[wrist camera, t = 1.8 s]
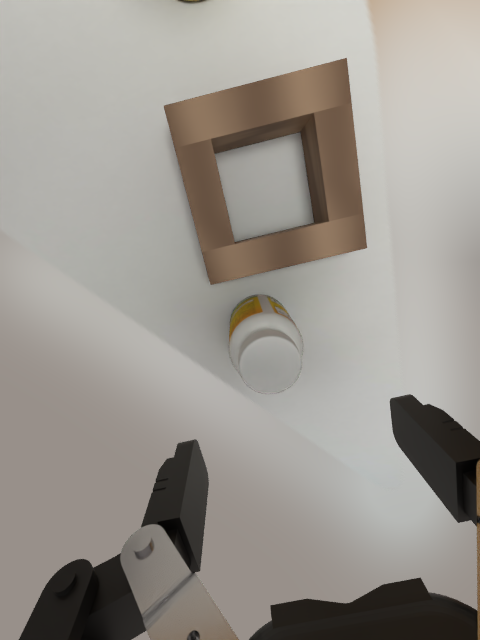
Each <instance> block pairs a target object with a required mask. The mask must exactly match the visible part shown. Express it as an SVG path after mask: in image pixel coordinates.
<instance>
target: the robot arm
mask: <svg viewBox="0 0 480 640" xmlns="http://www.w3.org/2000/svg"><path fill="white" fill-rule="evenodd" d="M390 409H391V418H392V428H393V434H394V437H395V440H396V442H397V444H398V445H399V447H400V448H401V450H402V451H403V452H404V453H405V455H406V456H407V457H408V459H409V460H410V461H411V462H412V464H413V465H414V466H415V468H416V469H417V470H418V472H419V473H420V474H421V475H422V477H423V478H424V479H425V481H426V482H427V483H428V485H429V486H430V487H431V488H432V490H433V491H434V492H435V493H436V495H437V496H438V497H439V499H440V500H441V501H442V502H443V504H444V505H445V507H446V508H447V509H448V510H449V512H450V513H451V514H452V515H453V517H454V518H455V519H456V521H457V522H458V523H459V522H464V521H469V520H472V522H473V523H474V524H475V525H476V526H477V596H478V598H477V603H478V611H477V610H475V609H474V608H472V607H470V606H468V605H466V604H464V603H462V602H460V601H458V600H455V599H453V598H450V597H447V596H443V595H440V594H435V593H429V592H428V591H427V589H426V587H425V585H424V583H423V582H422V580H421V578H416V579H411V580H406V581H400V582H394V583H389V584H384V585H381V586H380V587H378V588H376V589H374V590H372V591H371V592H369V593H367V594H365V595H364V596H362V597H360V598H358V599H356V600H355V601H353V602H351V603H346V604H345V603H336V602H328V601H320V600H312V599H303V600H297V601H293V602H287V603H281V604H276V605H271V616H272V621H270V622H268V623H267V624H265V625H264V626H263V627H262V628H260V629H259V630H258V631H257V632H256V633H255V634H254V635H253V636H252V637H251V638H250V639H249V640H480V441H479V440H478V439H476V438H475V437H474V436H473V435H472V434H470V433H469V432H468V431H467V430H466V429H463V427H462V426H461V425H460V424H459V423H458V422H456V421H454V419H453V418H451V417H450V416H449V415H448V414H447V413H446V412H444V411H443V410H441V409H439V408H437V407H434V406H432V405H430V404H427V405H422V404H421V403H420V402H419V401H418V400H417V399H416V398H415V397H414V396H413V395H405V396H400V397H395V398H391V399H390ZM208 485H209V482H208V473H207V469H206V465H205V462H204V459H203V456H202V453H201V450H200V447H199V444H198V441H197V440H191V441H187V442H182V443H178V445H177V448H176V452H175V456H174V458H169V459H167V460H166V461H165V462H164V464H163V465H162V466H161V468H160V469H159V472H158V475H157V478H156V483H155V484H154V488H153V493H152V494H151V498H150V500H149V503H148V507H147V510H146V513H145V516H144V519H143V523H142V526H141V528H140V529H139V530H137V531H136V532H135V533H133V534H132V535H131V536H130V538H129V539H128V540H127V541H126V543H125V544H124V546H123V548H122V551H121V553H120V554H119V555H117V556H115V557H113V558H112V559H110V560H108V561H106V562H104V563H102V564H100V565H98V566H96V567H94V568H93V567H92V565H91V563H90V562H89V561H88V560H85V559H79V560H75V561H73V562H71V563H69V564H67V565H65V566H64V567H62V568H61V569H60V570H59V571H58V572H57V573H56V574H55V575H54V576H53V577H52V578H51V579H50V580H49V582H48V583H47V585H46V586H45V588H44V590H43V591H42V593H41V596H40V598H39V600H38V602H37V604H36V606H35V608H34V610H33V612H32V614H31V616H30V618H29V620H28V622H27V624H26V626H25V628H24V631H23V632H22V634H21V637H20V639H19V640H131V639H133V638H135V637H136V636H138V635H139V634H141V633H143V632H145V631H146V630H147V633H148V635H149V638H150V640H239V639H238V637H237V636H236V634H235V633H234V631H233V630H232V629H231V627H230V625H229V624H228V622H227V620H226V619H225V617H224V616H223V614H222V613H221V611H220V610H219V608H218V607H217V605H216V604H215V602H214V600H213V599H212V597H211V596H210V594H209V593H208V592H207V590H206V588H205V587H204V585H203V583H202V582H201V580H200V579H199V577H198V576H197V575H196V574H195V572H198V571H200V565H201V556H202V546H203V536H204V525H205V515H206V505H207V495H208Z"/></svg>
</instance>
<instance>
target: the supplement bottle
mask: <svg viewBox="0 0 480 640" xmlns="http://www.w3.org/2000/svg"><path fill="white" fill-rule="evenodd" d="M229 354H230V359H231V361H232V364H233V365H234V367H235V369H236V370H237V371H238V372H239V373H240V375H241V377H242V379H243V381H244V382H245V383H246V385H247V386H249V387H250V388H251V389H253V390H254V391H257V392H259V393H264V394H275V393H279V392H282V391H284V390H286V389H288V388H289V387H291V386H292V385H293V384H294V383H295V381H296V380H297V379H298V377H299V375H300V372H301V368H302V360H301V358H302V354H303V341H302V337H301V334H300V332H299V330H298V328H297V326H296V325H295V323H294V322H293V320H292V319H291V317H290V316H289V314H288V313H287V311H286V310H285V308H284V307H283V306H282V304H281V303H280V302H279V301H277V300H276V299H274V298H272V297H270V296H266V295H254V296H250V297H248V298H246V299H244V300H243V301H242V302H240V303H239V304H238V305H237V306H236V308H235V309H234V311H233V313H232V315H231V319H230V335H229Z"/></svg>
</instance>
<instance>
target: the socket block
mask: <svg viewBox="0 0 480 640" xmlns="http://www.w3.org/2000/svg"><path fill="white" fill-rule="evenodd" d="M164 109H165V113H166V117H167V121H168V124H169V128H170V132H171V136H172V140H173V143H174V147H175V151H176V155H177V159H178V163H179V166H180V170H181V174H182V178H183V182H184V185H185V189H186V193H187V197H188V201H189V204H190V208H191V212H192V216H193V220H194V223H195V227H196V231H197V235H198V239H199V243H200V246H201V250H202V254H203V258H204V262H205V265H206V269H207V273H208V277H209V281H210V284H211V285H212V284H216V283H221V282H225V281H229V280H233V279H238V278H242V277H246V276H250V275H254V274H259V273H263V272H267V271H271V270H276V269H280V268H284V267H288V266H293V265H297V264H301V263H305V262H310V261H314V260H318V259H322V258H327V257H331V256H335V255H339V254H343V253H348V252H352V251H356V250H360V249H365V248H367V243H366V234H365V224H364V215H363V206H362V196H361V187H360V178H359V168H358V159H357V150H356V140H355V131H354V122H353V112H352V103H351V94H350V84H349V75H348V66H347V58H345V59H341V60H337V61H333V62H330V63H326V64H322V65H318V66H314V67H310V68H307V69H303V70H299V71H295V72H291V73H287V74H284V75H280V76H276V77H272V78H268V79H264V80H261V81H257V82H253V83H249V84H245V85H241V86H238V87H234V88H230V89H226V90H222V91H218V92H215V93H211V94H207V95H203V96H199V97H195V98H192V99H188V100H184V101H180V102H176V103H172V104H169V105H165V106H164ZM298 132H301V138H302V144H303V151H304V158H305V164H306V171H307V177H308V184H309V190H310V197H311V203H312V210H313V216H314V223H312V224H308V225H304V226H300V227H296V228H291V229H287V230H283V231H279V232H275V233H271V234H267V235H262V236H258V237H254V238H250V239H246V240H242V241H238V242H234V237H233V233H232V229H231V224H230V220H229V216H228V211H227V207H226V203H225V198H224V194H223V189H222V185H221V181H220V176H219V172H218V168H217V163H216V159H215V155H214V154H215V153H219V152H223V151H227V150H231V149H235V148H239V147H243V146H247V145H250V144H254V143H258V142H262V141H266V140H270V139H274V138H278V137H282V136H286V135H290V134H294V133H298Z"/></svg>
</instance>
